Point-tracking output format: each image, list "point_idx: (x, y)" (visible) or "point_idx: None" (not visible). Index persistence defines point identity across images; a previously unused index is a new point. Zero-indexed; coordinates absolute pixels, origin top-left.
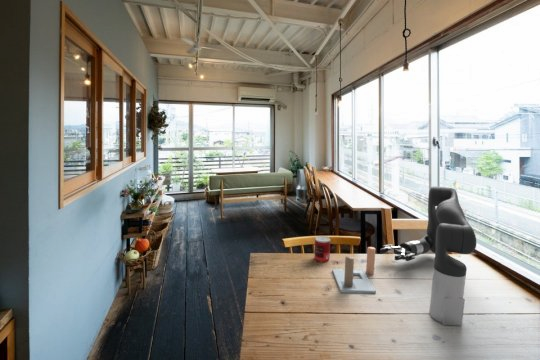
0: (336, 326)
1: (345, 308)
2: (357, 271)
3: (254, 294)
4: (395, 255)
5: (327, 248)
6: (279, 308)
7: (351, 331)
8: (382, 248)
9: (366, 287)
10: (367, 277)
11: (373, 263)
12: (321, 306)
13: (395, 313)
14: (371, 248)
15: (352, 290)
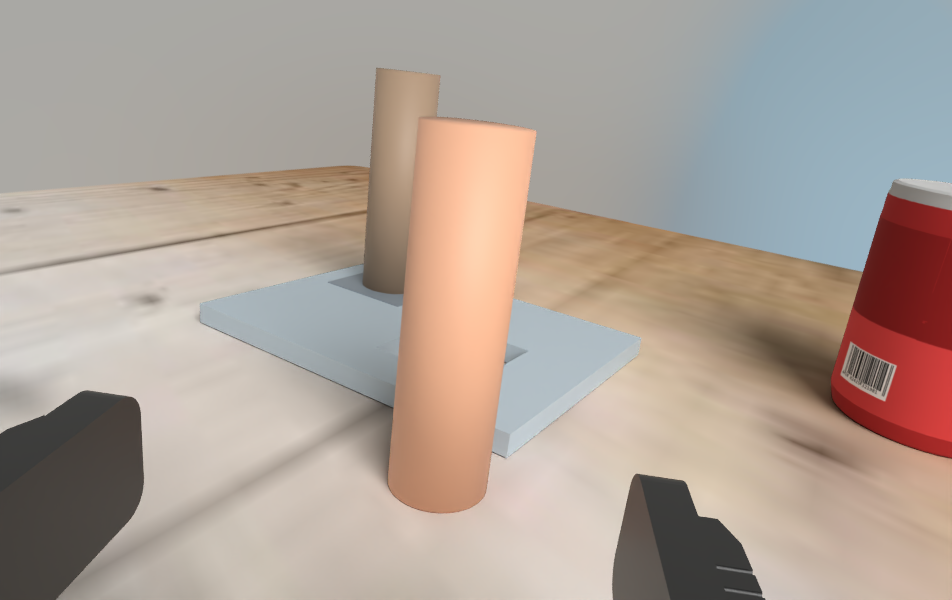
0: (246, 205)
1: (278, 237)
2: (508, 392)
3: (565, 211)
4: (123, 400)
5: (879, 269)
6: None
7: (187, 204)
8: (699, 525)
9: (280, 303)
10: (364, 372)
11: (401, 329)
12: (363, 226)
13: (14, 270)
14: (474, 124)
15: (333, 272)
